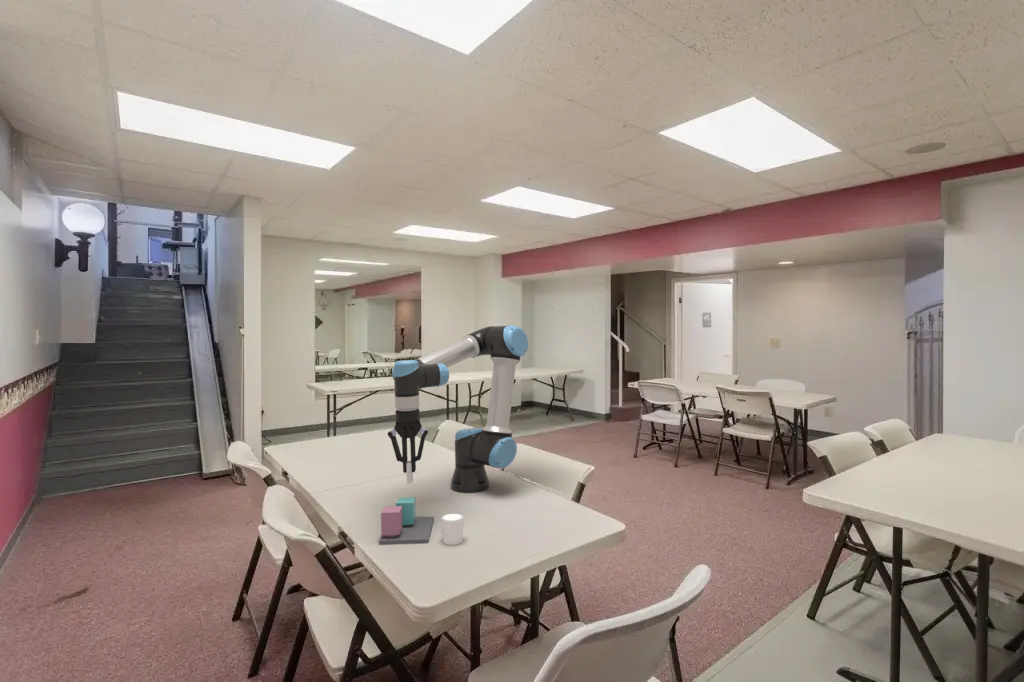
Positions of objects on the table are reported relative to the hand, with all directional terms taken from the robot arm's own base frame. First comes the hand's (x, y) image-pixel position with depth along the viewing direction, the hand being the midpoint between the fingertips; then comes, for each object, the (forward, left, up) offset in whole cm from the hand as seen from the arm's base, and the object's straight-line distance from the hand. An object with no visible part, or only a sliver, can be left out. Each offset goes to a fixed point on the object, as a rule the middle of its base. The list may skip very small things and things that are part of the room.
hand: (409, 482), depth 153 cm
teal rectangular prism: (+1, +3, -11) cm, 12 cm away
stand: (0, +6, -13) cm, 15 cm away
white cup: (-14, +14, -13) cm, 24 cm away
